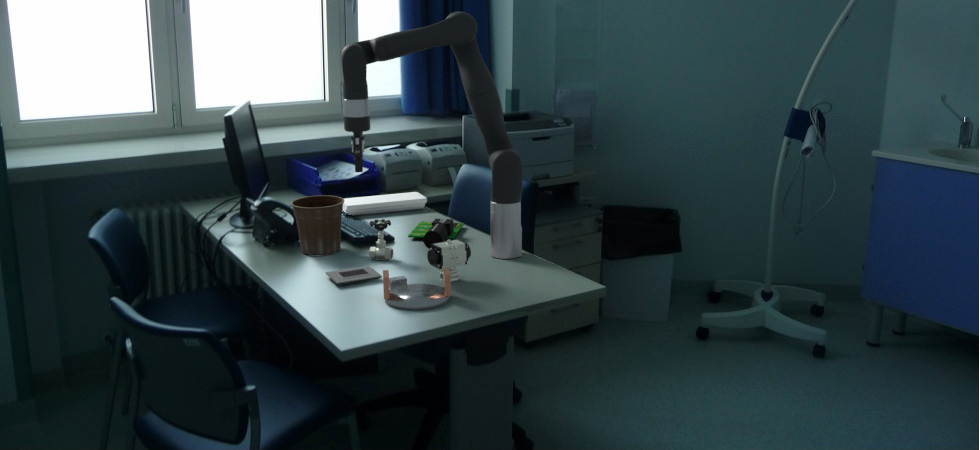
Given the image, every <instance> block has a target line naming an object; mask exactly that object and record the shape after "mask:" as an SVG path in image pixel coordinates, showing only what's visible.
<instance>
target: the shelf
mask: <svg viewBox="0 0 980 450" xmlns="http://www.w3.org/2000/svg"><path fill="white" fill-rule="evenodd" d="M343 199H344V203H343V211H344V212H345V213H349V214H348V215H352V216H351V217H353V216H363V215H374V214H384V213H392V212H403V211H404V212H405V211H412V210H414V211H415V210H421V209H422V210H423V209H424V208H425V205H426V203H428V198H427V197H426V196H424V195H422V194H421V193H419V192H418V191H411V192H401V193H400V192H399V193H390V194H389V193H388V194H378V195H370V196H369V195H368V196H356V197H346V198H343Z"/></svg>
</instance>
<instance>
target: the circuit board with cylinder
mask: <svg viewBox="0 0 980 450" xmlns="http://www.w3.org/2000/svg"><path fill="white" fill-rule="evenodd" d="M464 225H465V222H456V221H455V222H454V219H451V218H434V220H433V221H420V222H419V223H418V224H417V225H416V226H415V227H414V228H413V230H411V232H410V233H409V234H408V235H407V238H418V239H419V238H420V239H421V238H422V240H423V241H422V242H423V245H424V246H425V247H426V248H427V249H428V250H431V249H430V248H431V244H436V243H441V242H447V240H449V239H450V240H451V241H452V240H455V237H456V236H457V235H458V233H459V232H460V231H461V230H462V228H463V227H464Z"/></svg>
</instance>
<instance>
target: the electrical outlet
mask: <svg viewBox="0 0 980 450" xmlns="http://www.w3.org/2000/svg"><path fill="white" fill-rule="evenodd" d="M325 275H327V276H328V277H329V278H330V279H331V280H332V281H333V282H334V283H336V285H338V286H341V285H348V284H355V283H360V282H367V281H368V282H369V281H372V280H373V281H374V280H379V279H382V278H383V274H382V275H381V273H379V272H378V271H376V270H375V269H374V268H373V267H371V266H370V265H365V266H359V267H352V268H345V269H337V270H331V271H325Z"/></svg>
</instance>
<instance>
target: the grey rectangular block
mask: <svg viewBox="0 0 980 450" xmlns="http://www.w3.org/2000/svg"><path fill="white" fill-rule="evenodd" d="M407 284H408V278H407V277H406V276H405V275H401V276H400V275H399V276H395V277H389V290H390V289H392V288H394V287H397V286H401V285H407Z"/></svg>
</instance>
